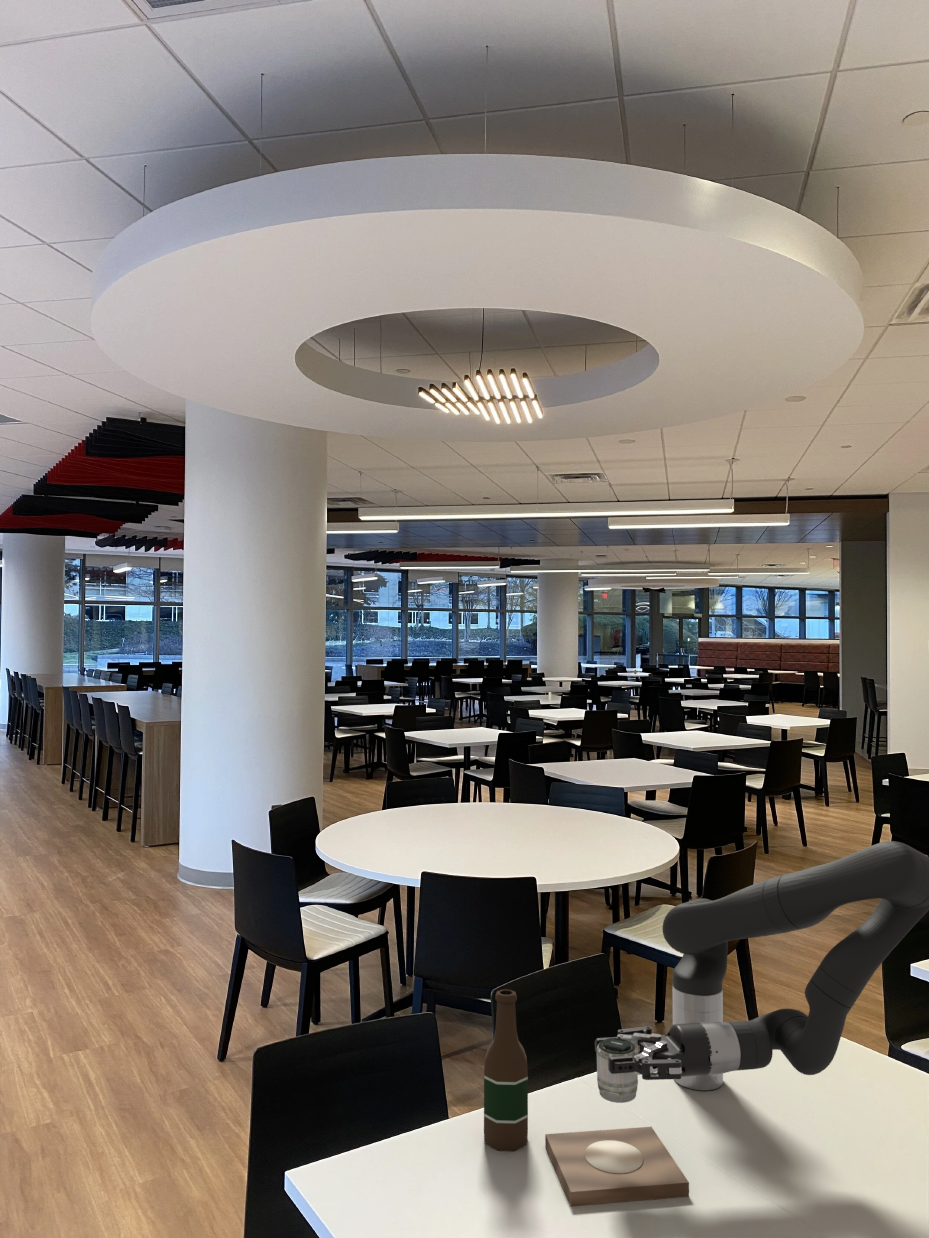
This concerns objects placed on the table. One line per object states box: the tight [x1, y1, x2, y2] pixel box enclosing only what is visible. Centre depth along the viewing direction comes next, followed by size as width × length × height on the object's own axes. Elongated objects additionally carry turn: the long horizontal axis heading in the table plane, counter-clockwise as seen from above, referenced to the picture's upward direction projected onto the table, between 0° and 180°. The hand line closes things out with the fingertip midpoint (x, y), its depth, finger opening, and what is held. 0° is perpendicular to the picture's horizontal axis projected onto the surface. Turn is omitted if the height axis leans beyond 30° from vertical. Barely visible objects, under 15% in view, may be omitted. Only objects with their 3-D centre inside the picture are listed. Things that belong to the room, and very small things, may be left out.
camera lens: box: [596, 1037, 639, 1104], centre depth 140 cm, size 6×6×8 cm
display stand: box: [544, 1126, 690, 1207], centre depth 140 cm, size 16×18×2 cm
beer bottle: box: [483, 988, 529, 1152], centre depth 149 cm, size 8×8×24 cm
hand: (602, 1055), depth 140 cm, fingers closed on camera lens, 6 cm apart
